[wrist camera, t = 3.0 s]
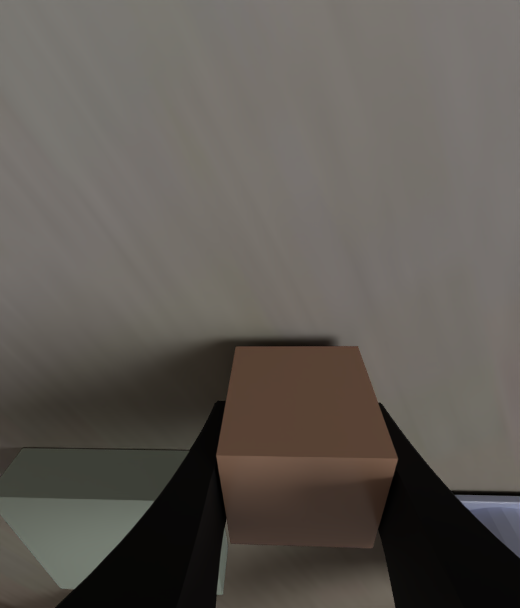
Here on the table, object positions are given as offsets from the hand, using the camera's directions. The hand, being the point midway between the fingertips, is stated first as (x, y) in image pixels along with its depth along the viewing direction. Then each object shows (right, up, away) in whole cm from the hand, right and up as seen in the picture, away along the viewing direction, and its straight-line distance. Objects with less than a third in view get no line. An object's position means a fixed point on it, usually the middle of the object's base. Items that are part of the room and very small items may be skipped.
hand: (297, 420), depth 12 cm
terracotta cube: (0, +1, +1) cm, 2 cm away
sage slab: (-9, -8, +7) cm, 14 cm away
